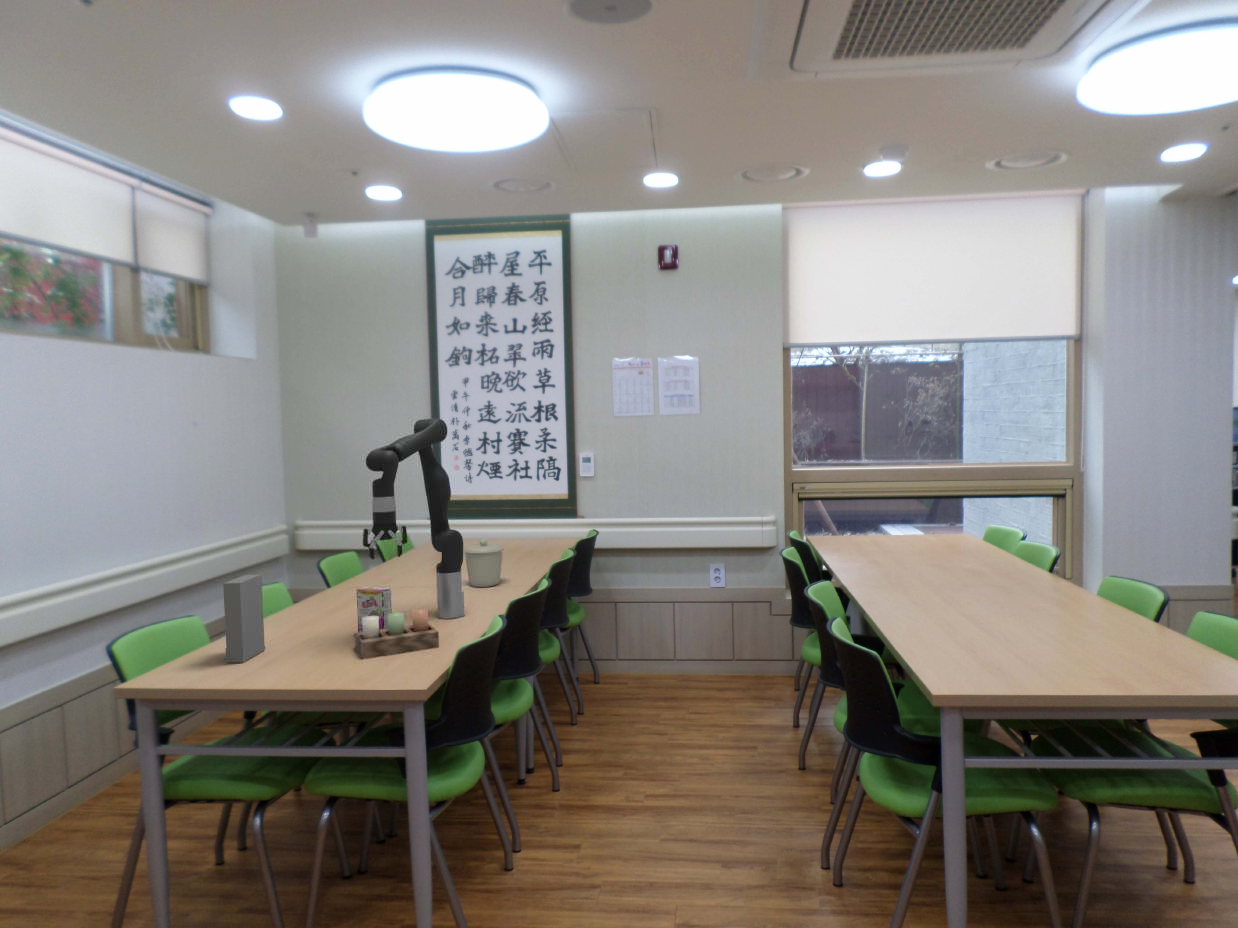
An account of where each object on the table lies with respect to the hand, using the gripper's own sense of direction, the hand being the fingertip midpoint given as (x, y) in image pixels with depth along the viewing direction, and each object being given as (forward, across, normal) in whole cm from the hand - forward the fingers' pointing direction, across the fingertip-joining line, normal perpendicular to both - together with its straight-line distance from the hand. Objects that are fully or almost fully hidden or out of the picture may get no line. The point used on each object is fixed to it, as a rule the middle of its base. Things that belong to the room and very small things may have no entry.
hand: (385, 557), depth 261 cm
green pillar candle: (+24, -1, +10) cm, 26 cm away
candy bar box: (+28, +3, -10) cm, 30 cm away
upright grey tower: (+28, +44, -5) cm, 52 cm away
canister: (+28, -56, -72) cm, 95 cm away
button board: (+28, -1, +10) cm, 30 cm away
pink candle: (+24, -9, +10) cm, 28 cm away
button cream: (+24, +7, +11) cm, 28 cm away
